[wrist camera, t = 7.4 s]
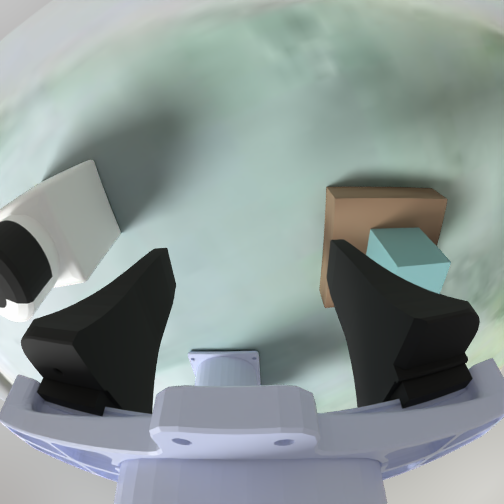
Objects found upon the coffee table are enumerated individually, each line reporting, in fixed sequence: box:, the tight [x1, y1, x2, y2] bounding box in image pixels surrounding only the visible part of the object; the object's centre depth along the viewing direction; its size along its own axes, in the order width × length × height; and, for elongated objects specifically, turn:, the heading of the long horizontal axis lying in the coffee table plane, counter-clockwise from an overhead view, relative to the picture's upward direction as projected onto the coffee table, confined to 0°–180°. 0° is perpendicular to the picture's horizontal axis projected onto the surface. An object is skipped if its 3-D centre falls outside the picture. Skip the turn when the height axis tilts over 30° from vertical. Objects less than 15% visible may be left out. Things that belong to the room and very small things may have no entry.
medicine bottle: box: [0, 160, 121, 322], centre depth 16 cm, size 7×7×12 cm
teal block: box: [366, 227, 451, 294], centre depth 19 cm, size 4×4×5 cm
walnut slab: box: [320, 187, 447, 308], centre depth 22 cm, size 10×10×3 cm
